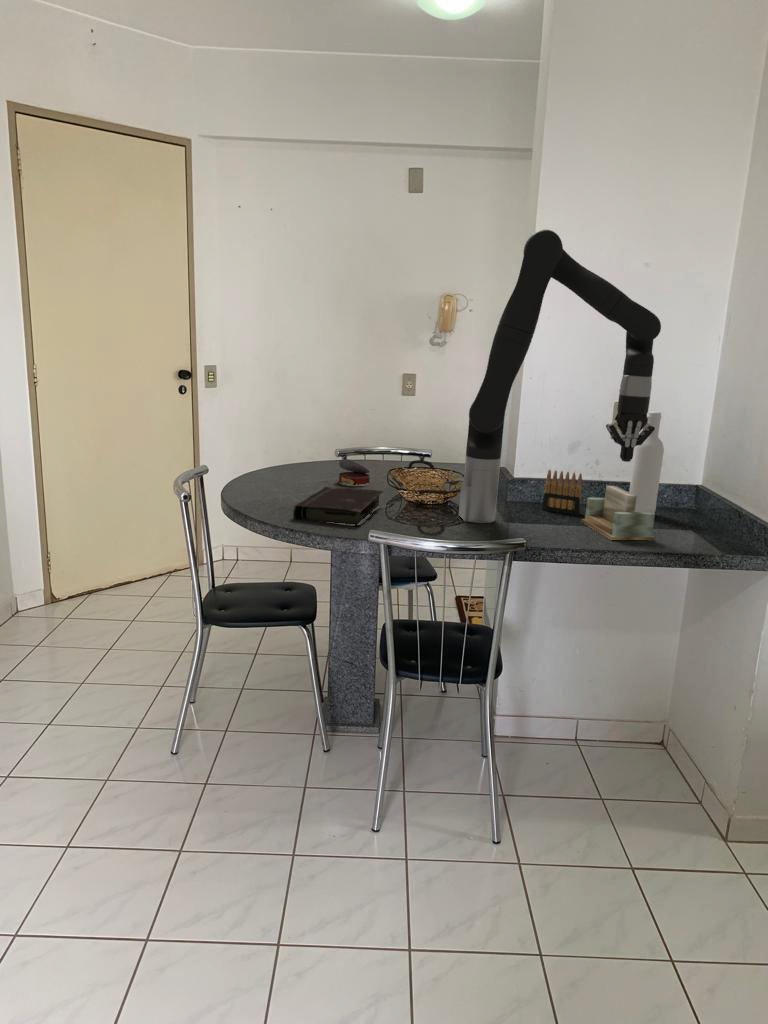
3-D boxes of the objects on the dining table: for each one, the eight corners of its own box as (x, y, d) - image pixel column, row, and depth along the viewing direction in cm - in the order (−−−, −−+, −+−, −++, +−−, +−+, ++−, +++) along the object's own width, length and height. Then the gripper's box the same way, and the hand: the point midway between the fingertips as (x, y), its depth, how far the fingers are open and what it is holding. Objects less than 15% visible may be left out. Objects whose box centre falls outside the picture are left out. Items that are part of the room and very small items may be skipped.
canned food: (337, 496, 243) (330, 467, 245) (365, 491, 247) (358, 463, 249) (349, 487, 233) (341, 456, 235) (378, 482, 237) (370, 452, 239)
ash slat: (622, 533, 194) (627, 495, 192) (601, 521, 206) (606, 485, 204) (631, 533, 195) (636, 495, 192) (610, 521, 206) (615, 485, 204)
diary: (292, 522, 194) (292, 503, 193) (322, 502, 218) (323, 485, 217) (362, 529, 190) (362, 510, 189) (385, 508, 214) (386, 490, 212)
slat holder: (610, 540, 191) (614, 513, 189) (581, 522, 208) (584, 497, 206) (654, 540, 193) (658, 514, 191) (621, 522, 210) (624, 498, 208)
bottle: (642, 510, 227) (656, 410, 219) (660, 517, 219) (675, 413, 212) (620, 511, 224) (634, 410, 216) (638, 518, 217) (652, 413, 209)
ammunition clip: (541, 509, 220) (545, 469, 217) (542, 508, 222) (547, 468, 219) (578, 515, 216) (583, 473, 214) (579, 513, 218) (584, 472, 215)
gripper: (617, 394, 187) (608, 463, 191) (666, 396, 189) (656, 464, 193) (603, 391, 194) (595, 458, 198) (651, 393, 196) (642, 459, 201)
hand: (625, 461), depth 196 cm, fingers closed
